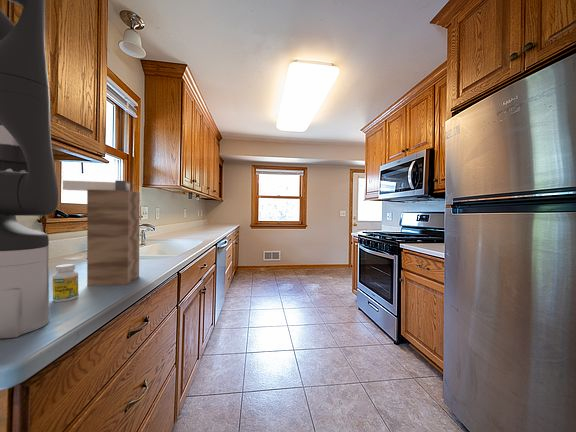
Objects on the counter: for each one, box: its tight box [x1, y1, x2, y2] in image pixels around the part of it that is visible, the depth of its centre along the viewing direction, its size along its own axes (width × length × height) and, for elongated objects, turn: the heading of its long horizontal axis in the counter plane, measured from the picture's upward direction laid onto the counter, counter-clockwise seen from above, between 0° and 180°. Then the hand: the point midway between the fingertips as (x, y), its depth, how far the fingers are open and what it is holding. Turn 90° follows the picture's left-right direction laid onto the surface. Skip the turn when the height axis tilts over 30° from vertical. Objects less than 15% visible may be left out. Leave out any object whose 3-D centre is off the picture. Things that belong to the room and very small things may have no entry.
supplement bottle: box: [52, 263, 79, 303], centre depth 69 cm, size 5×5×10 cm
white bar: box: [62, 180, 132, 192], centre depth 85 cm, size 4×19×4 cm, turn 102°
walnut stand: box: [86, 190, 141, 287], centre depth 86 cm, size 10×12×32 cm
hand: (17, 204), depth 68 cm, fingers open, 8 cm apart
